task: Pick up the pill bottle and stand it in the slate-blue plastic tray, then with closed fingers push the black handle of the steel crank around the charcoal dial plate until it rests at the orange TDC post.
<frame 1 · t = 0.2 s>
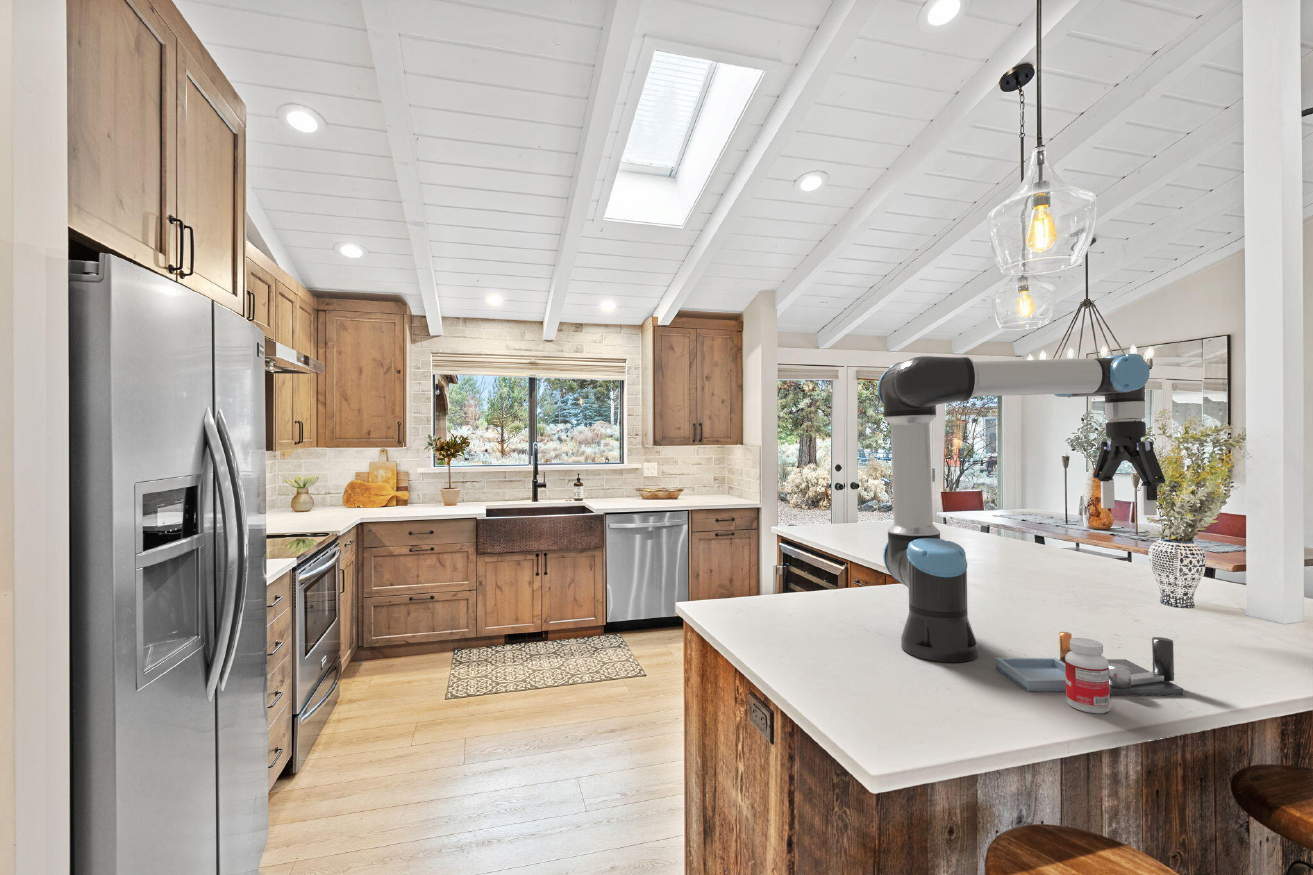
hand: (1127, 511, 144), 28 cm above the counter, fingers open, 13 cm apart
crank: (1139, 661, 112), point 5 cm above the counter, hinge at 15.0°
tray: (1042, 679, 118), on the counter
dial plate: (1114, 679, 117), on the counter
pill bottle: (1087, 707, 106), on the counter
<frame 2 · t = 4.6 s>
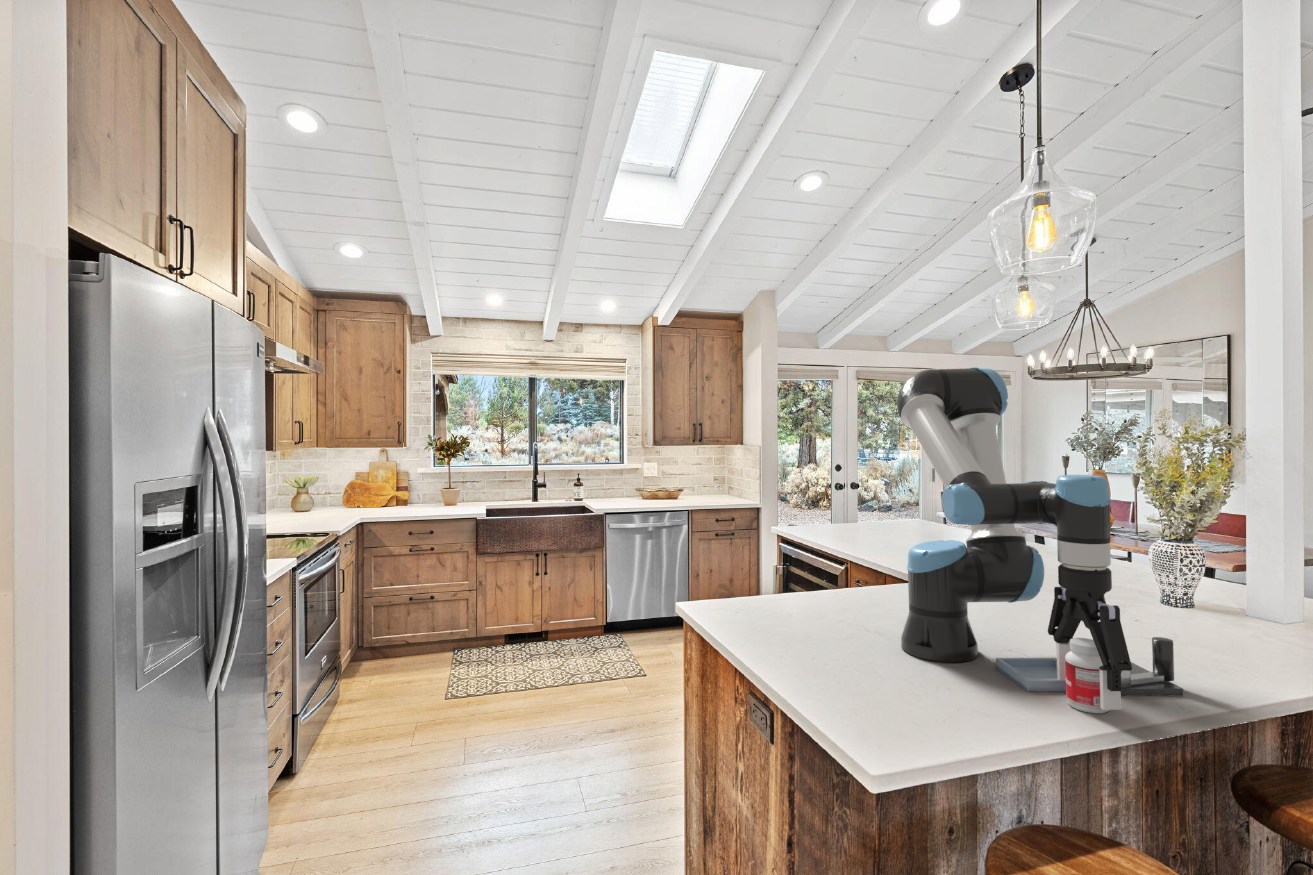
hand: (1087, 693, 106), 2 cm above the counter, fingers open, 11 cm apart
nothing on the counter moved.
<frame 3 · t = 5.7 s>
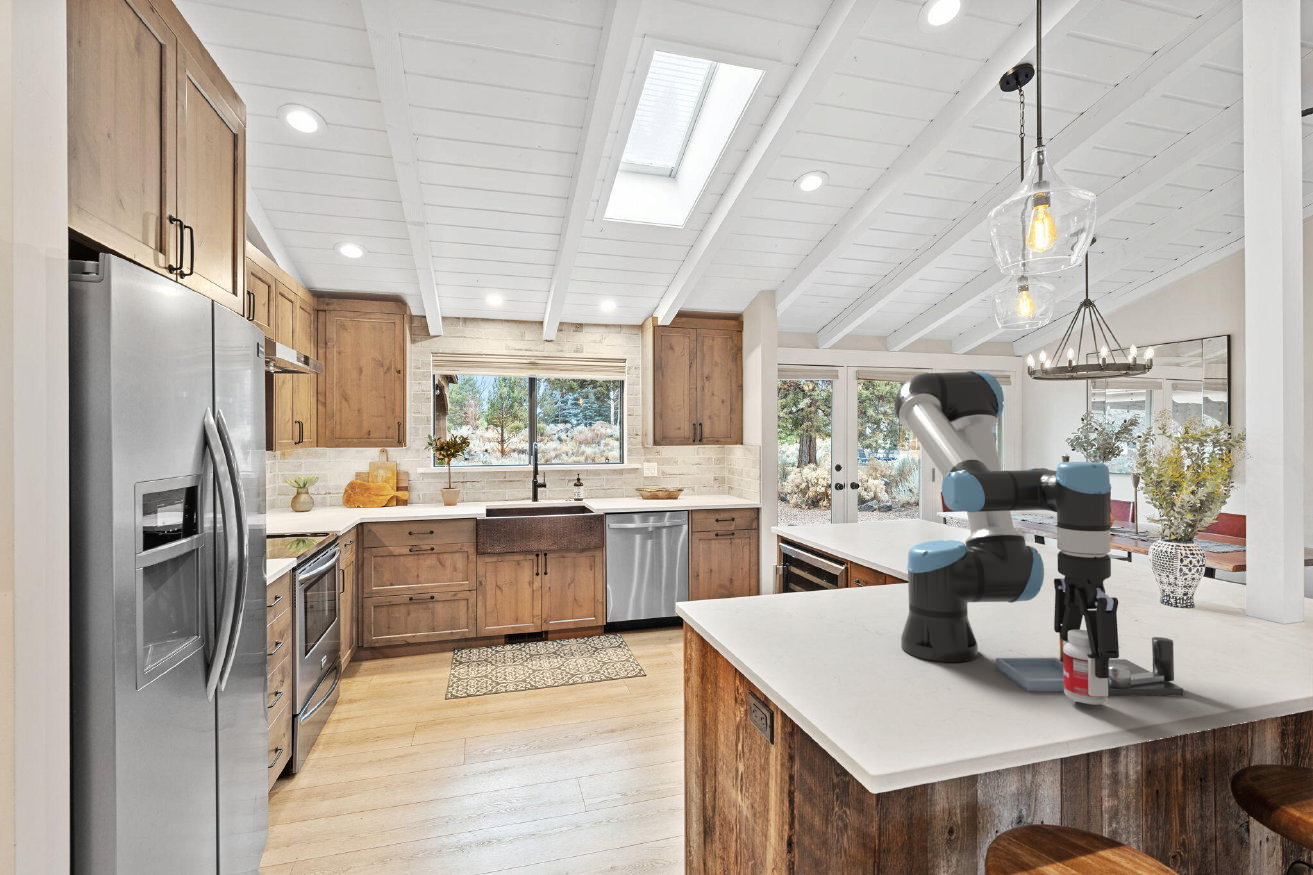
hand: (1085, 685, 106), 3 cm above the counter, fingers closed on pill bottle, 6 cm apart
pill bottle: (1085, 698, 106), point 1 cm above the counter, touching gripper
everything else where it was.
when the fingers open (3 cm above the counter, at t = 10.3 s): pill bottle stays where it is, resting on tray.
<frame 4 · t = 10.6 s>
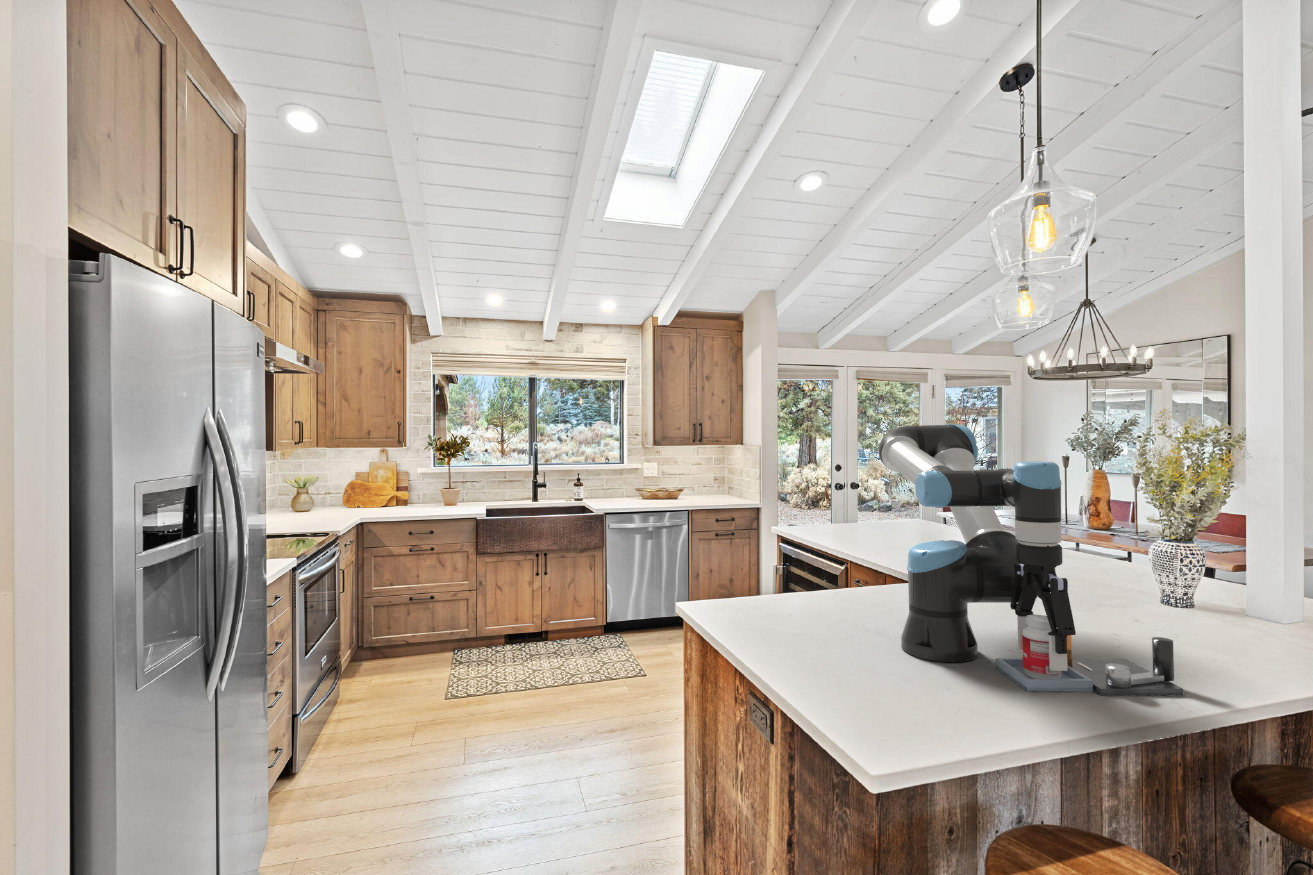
hand: (1041, 659, 118), 4 cm above the counter, fingers open, 10 cm apart
pill bottle: (1042, 676, 118), resting on tray
everything else where it was.
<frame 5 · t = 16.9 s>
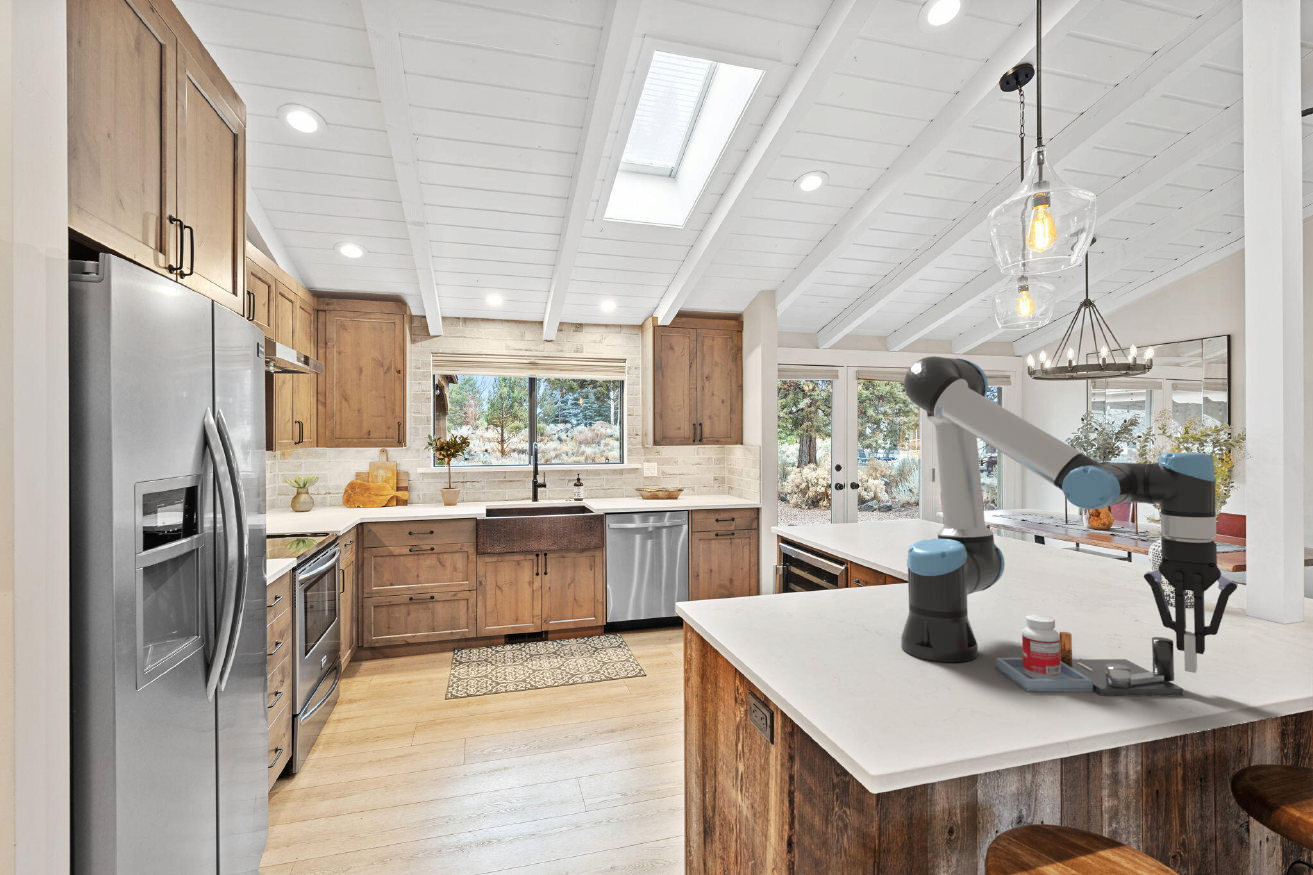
hand: (1191, 669, 111), 4 cm above the counter, fingers closed
crank: (1139, 661, 112), point 5 cm above the counter, hinge at 15.0°, touching gripper
everything else where it was.
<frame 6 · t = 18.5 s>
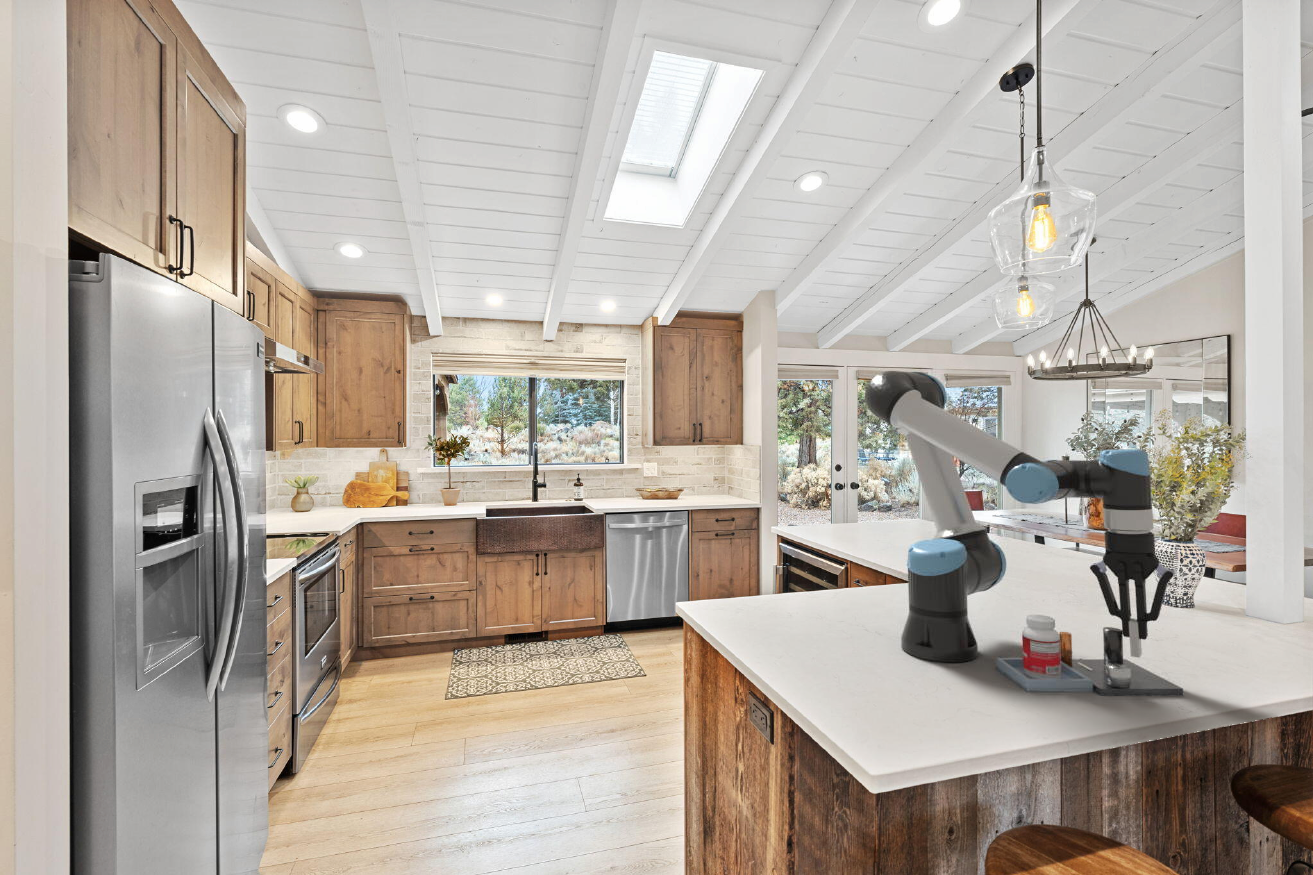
hand: (1136, 654, 117), 4 cm above the counter, fingers closed
crank: (1115, 655, 115), point 5 cm above the counter, hinge at 60.7°, touching gripper
everything else where it was.
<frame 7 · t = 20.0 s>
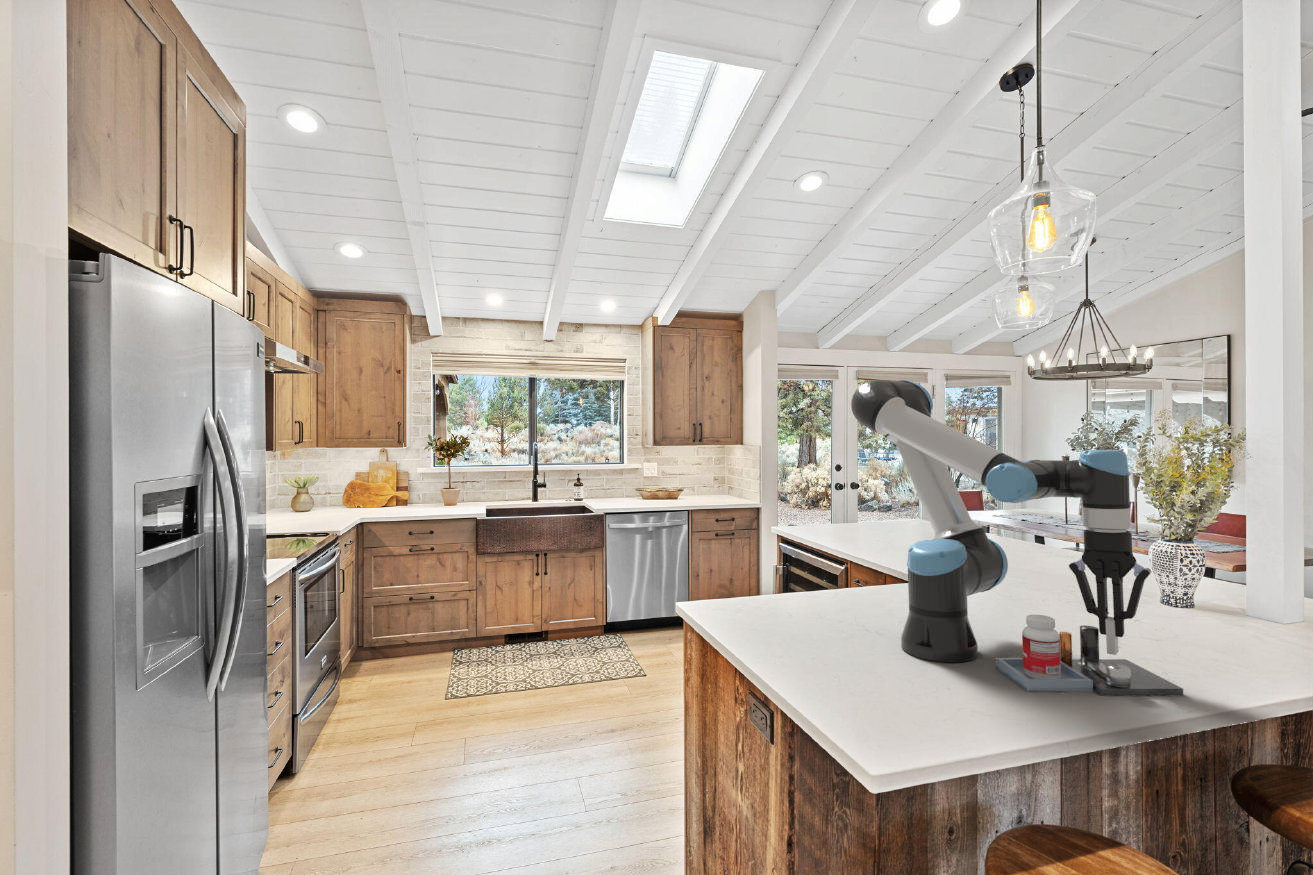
hand: (1112, 652, 119), 4 cm above the counter, fingers closed
crank: (1103, 654, 116), point 5 cm above the counter, hinge at 82.9°, touching gripper
everything else where it was.
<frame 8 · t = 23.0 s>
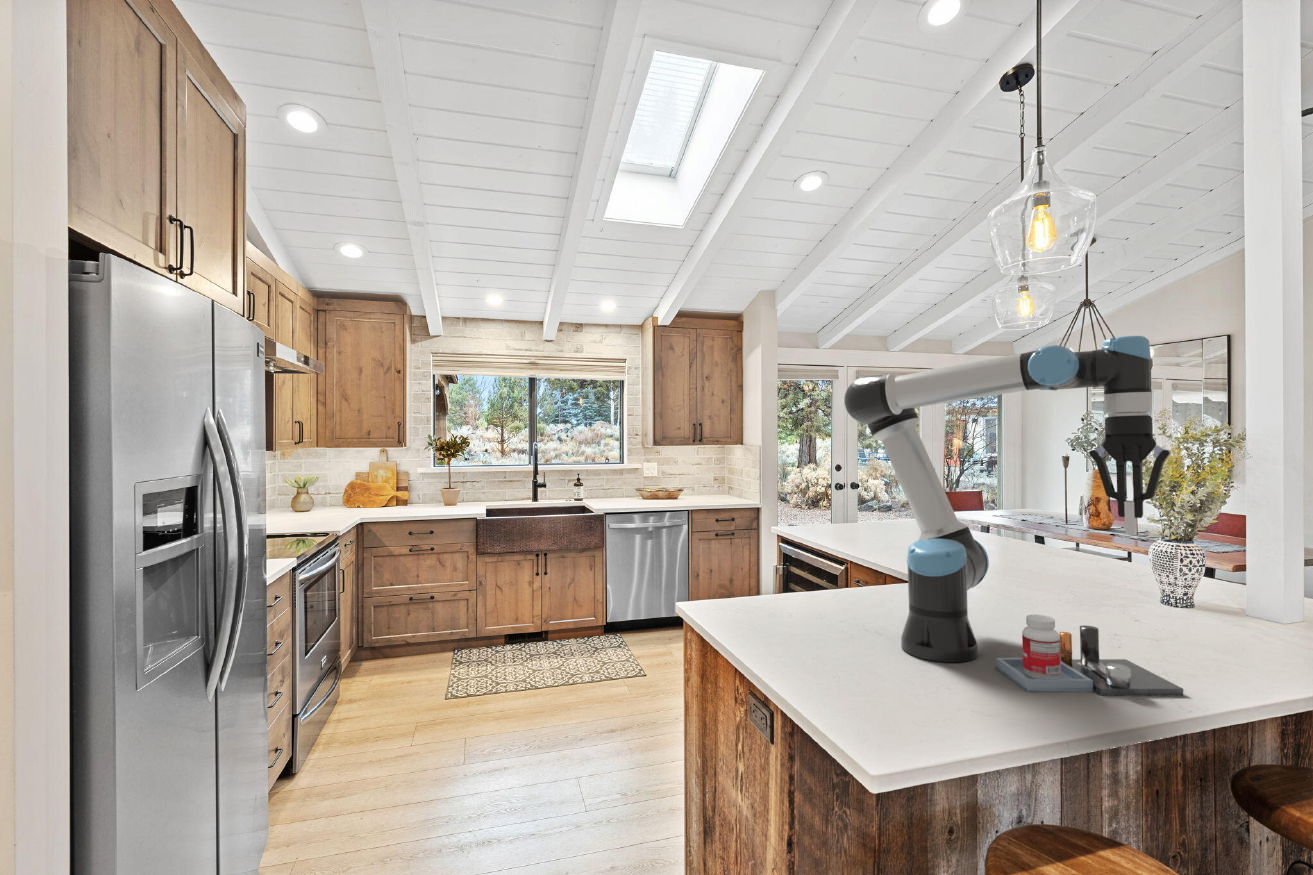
hand: (1131, 533, 122), 26 cm above the counter, fingers closed
crank: (1103, 654, 116), point 5 cm above the counter, hinge at 82.9°
everything else where it was.
at the end: pill bottle inside the target area on the tray (0.0 cm from its centre), point 0.4 cm above the tray's base; pill bottle tilted 0°; crank at +83° (first picture: +15°) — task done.
